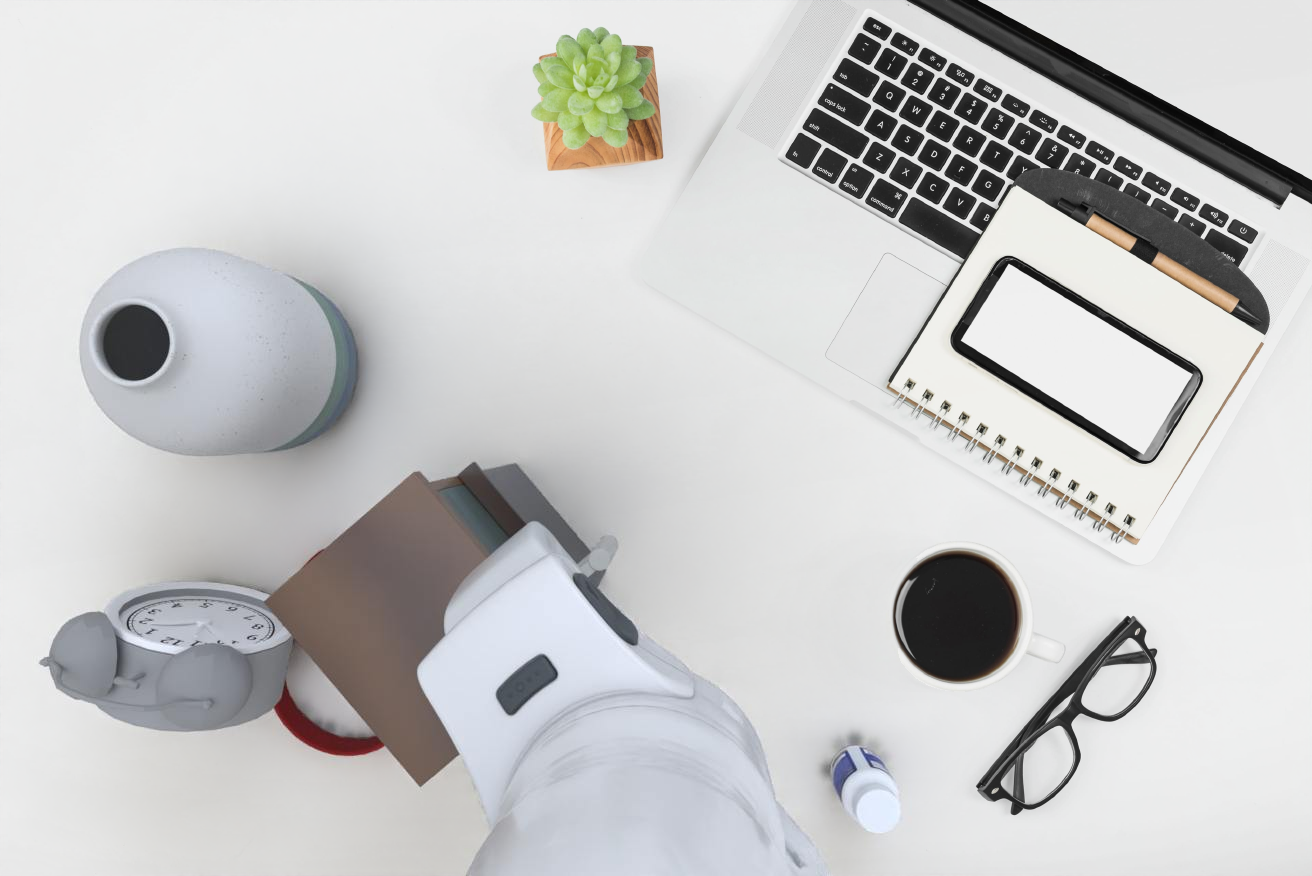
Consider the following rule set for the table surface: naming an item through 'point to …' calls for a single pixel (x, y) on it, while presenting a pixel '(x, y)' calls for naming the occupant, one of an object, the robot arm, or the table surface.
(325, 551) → the cabinet
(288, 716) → the headphones
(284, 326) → the vase
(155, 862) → the table surface
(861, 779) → the pill bottle
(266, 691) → the alarm clock
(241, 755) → the table surface
